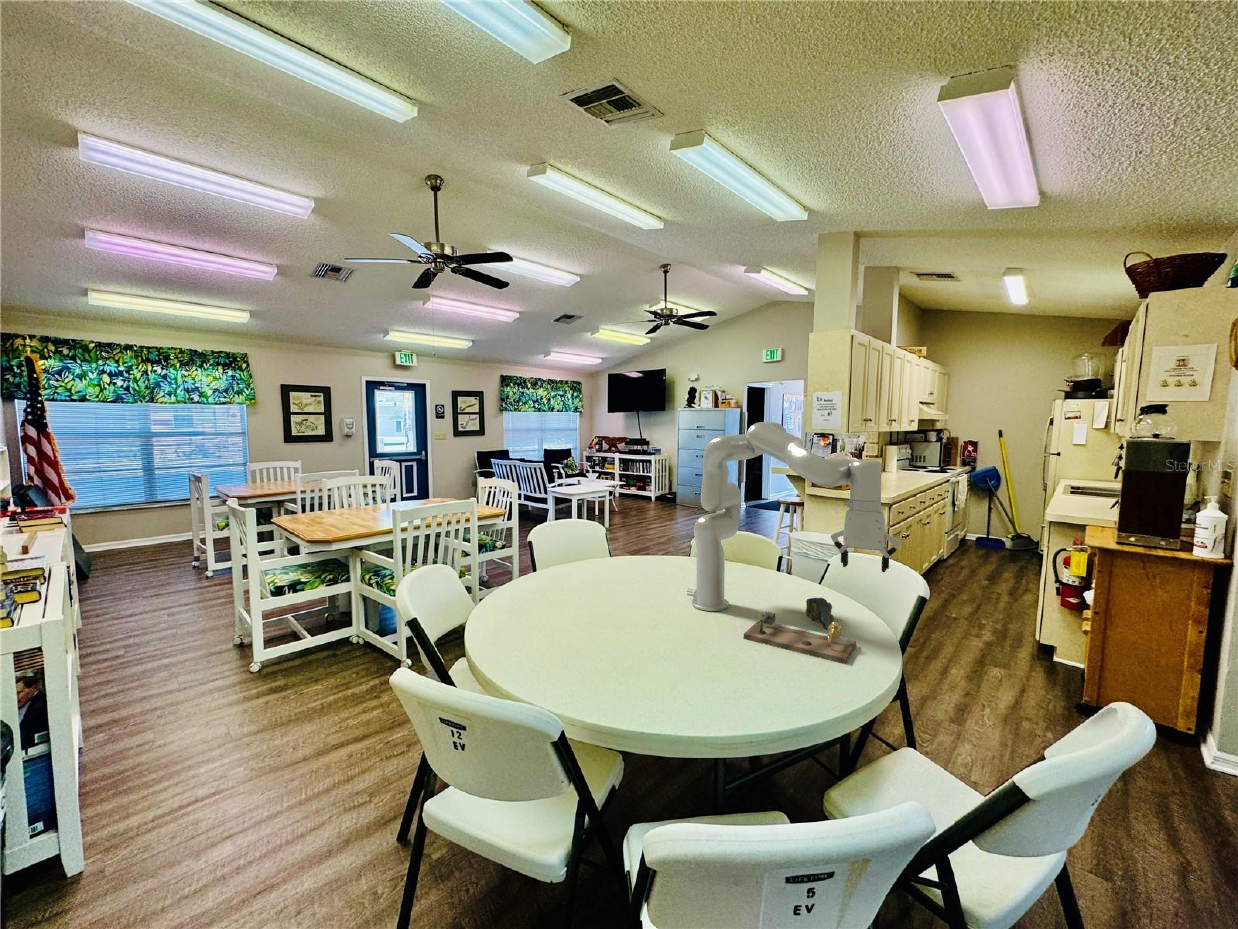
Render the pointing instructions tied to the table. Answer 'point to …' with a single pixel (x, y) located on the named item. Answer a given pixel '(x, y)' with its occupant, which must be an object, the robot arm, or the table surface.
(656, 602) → the table surface
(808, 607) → the sculpture
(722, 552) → the robot arm
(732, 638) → the table surface
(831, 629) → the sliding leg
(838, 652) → the plate
